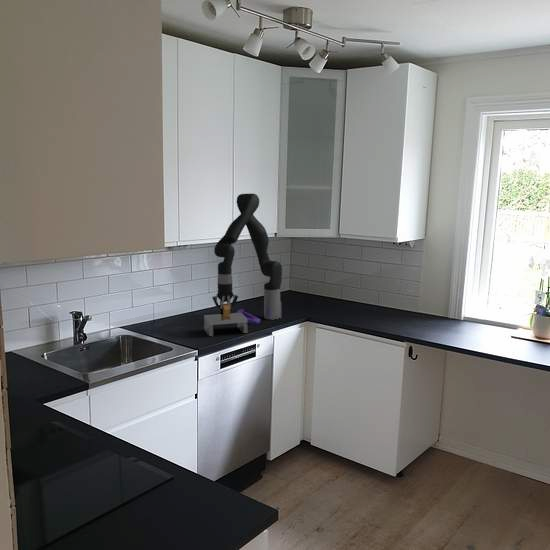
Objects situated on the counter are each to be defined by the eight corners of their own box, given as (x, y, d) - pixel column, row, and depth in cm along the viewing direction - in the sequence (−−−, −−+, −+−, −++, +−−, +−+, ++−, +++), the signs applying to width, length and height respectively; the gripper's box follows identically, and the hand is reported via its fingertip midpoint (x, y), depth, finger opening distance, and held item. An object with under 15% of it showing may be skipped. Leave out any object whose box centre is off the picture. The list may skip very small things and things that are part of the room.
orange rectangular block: (226, 318, 293) (228, 303, 287) (228, 324, 289) (230, 309, 284) (221, 319, 292) (222, 304, 286) (223, 324, 288) (224, 309, 283)
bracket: (236, 323, 308) (236, 311, 307) (240, 320, 315) (240, 308, 314) (257, 324, 306) (257, 312, 304) (260, 321, 312) (260, 310, 311)
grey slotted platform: (241, 326, 300) (240, 312, 298) (247, 333, 286) (247, 318, 285) (204, 329, 294) (204, 315, 292) (209, 336, 281) (209, 321, 279)
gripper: (236, 280, 291) (236, 312, 294) (210, 281, 287) (210, 314, 290) (239, 282, 284) (240, 315, 287) (212, 284, 280) (213, 317, 283)
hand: (225, 314), depth 288 cm, fingers closed on orange rectangular block, 3 cm apart
